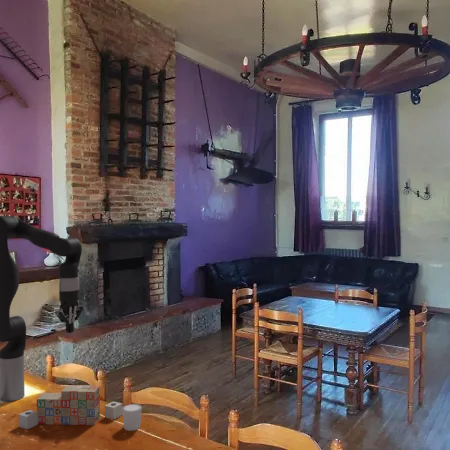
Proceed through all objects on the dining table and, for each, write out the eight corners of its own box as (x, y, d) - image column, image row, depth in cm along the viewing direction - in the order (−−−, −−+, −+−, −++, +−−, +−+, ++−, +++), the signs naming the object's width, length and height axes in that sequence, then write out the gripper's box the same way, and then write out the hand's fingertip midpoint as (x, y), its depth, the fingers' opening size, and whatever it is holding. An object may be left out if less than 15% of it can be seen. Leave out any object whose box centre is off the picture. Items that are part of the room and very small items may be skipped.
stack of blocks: (36, 424, 170) (36, 390, 170) (44, 417, 176) (43, 384, 176) (95, 425, 169) (94, 391, 169) (100, 418, 175) (100, 385, 175)
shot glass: (145, 424, 169) (145, 405, 169) (135, 432, 163) (135, 412, 163) (128, 421, 172) (128, 402, 171) (118, 429, 165) (118, 410, 165)
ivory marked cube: (104, 417, 175) (104, 405, 175) (113, 413, 179) (113, 401, 179) (114, 420, 173) (114, 407, 173) (122, 415, 177) (122, 403, 177)
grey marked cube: (18, 426, 168) (18, 414, 168) (29, 422, 172) (29, 409, 172) (27, 429, 166) (27, 416, 166) (38, 424, 170) (37, 411, 170)
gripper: (74, 285, 193) (75, 328, 194) (49, 290, 182) (49, 335, 182) (88, 287, 190) (89, 330, 190) (63, 291, 178) (63, 337, 178)
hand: (69, 332), depth 186 cm, fingers closed
